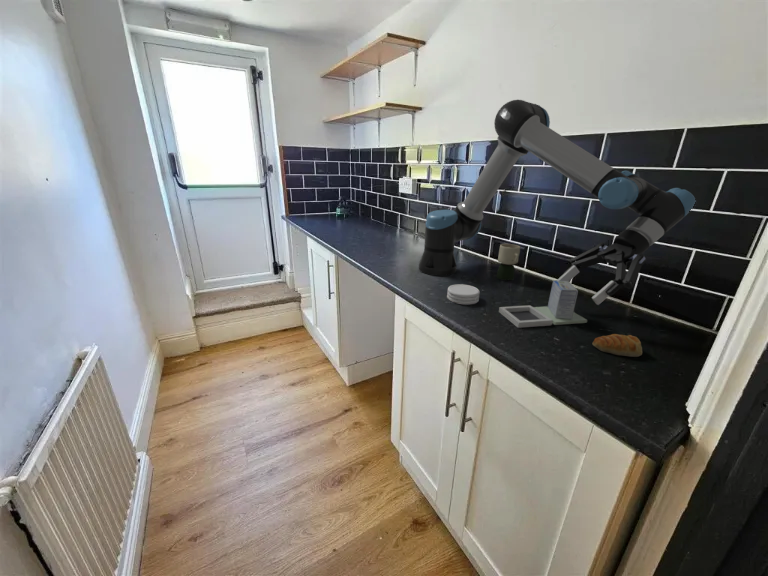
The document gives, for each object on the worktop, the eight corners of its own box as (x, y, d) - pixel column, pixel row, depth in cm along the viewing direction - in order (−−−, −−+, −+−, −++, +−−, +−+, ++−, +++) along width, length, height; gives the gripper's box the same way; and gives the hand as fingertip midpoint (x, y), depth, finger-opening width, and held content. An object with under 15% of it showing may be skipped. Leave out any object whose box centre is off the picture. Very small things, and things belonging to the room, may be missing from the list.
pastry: (600, 356, 74) (604, 341, 73) (585, 341, 81) (589, 327, 79) (643, 359, 74) (648, 344, 72) (625, 344, 80) (630, 330, 79)
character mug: (521, 283, 119) (528, 249, 114) (504, 284, 117) (510, 249, 113) (504, 274, 129) (510, 242, 124) (488, 275, 127) (493, 242, 123)
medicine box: (571, 320, 89) (579, 290, 86) (554, 318, 90) (561, 289, 87) (562, 308, 97) (569, 281, 93) (546, 307, 97) (552, 279, 94)
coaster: (441, 295, 107) (441, 285, 106) (466, 292, 110) (467, 282, 109) (458, 307, 98) (459, 296, 97) (485, 303, 102) (486, 292, 100)
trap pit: (498, 311, 95) (499, 307, 95) (529, 309, 97) (530, 305, 96) (518, 327, 86) (519, 322, 85) (551, 325, 88) (552, 320, 87)
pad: (532, 309, 97) (532, 307, 97) (561, 307, 99) (562, 305, 99) (554, 325, 88) (555, 322, 88) (586, 322, 90) (587, 320, 90)
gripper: (689, 259, 78) (619, 319, 81) (606, 237, 101) (553, 285, 104) (679, 238, 75) (606, 301, 78) (595, 220, 98) (541, 269, 101)
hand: (575, 292), depth 91 cm, fingers open, 13 cm apart
